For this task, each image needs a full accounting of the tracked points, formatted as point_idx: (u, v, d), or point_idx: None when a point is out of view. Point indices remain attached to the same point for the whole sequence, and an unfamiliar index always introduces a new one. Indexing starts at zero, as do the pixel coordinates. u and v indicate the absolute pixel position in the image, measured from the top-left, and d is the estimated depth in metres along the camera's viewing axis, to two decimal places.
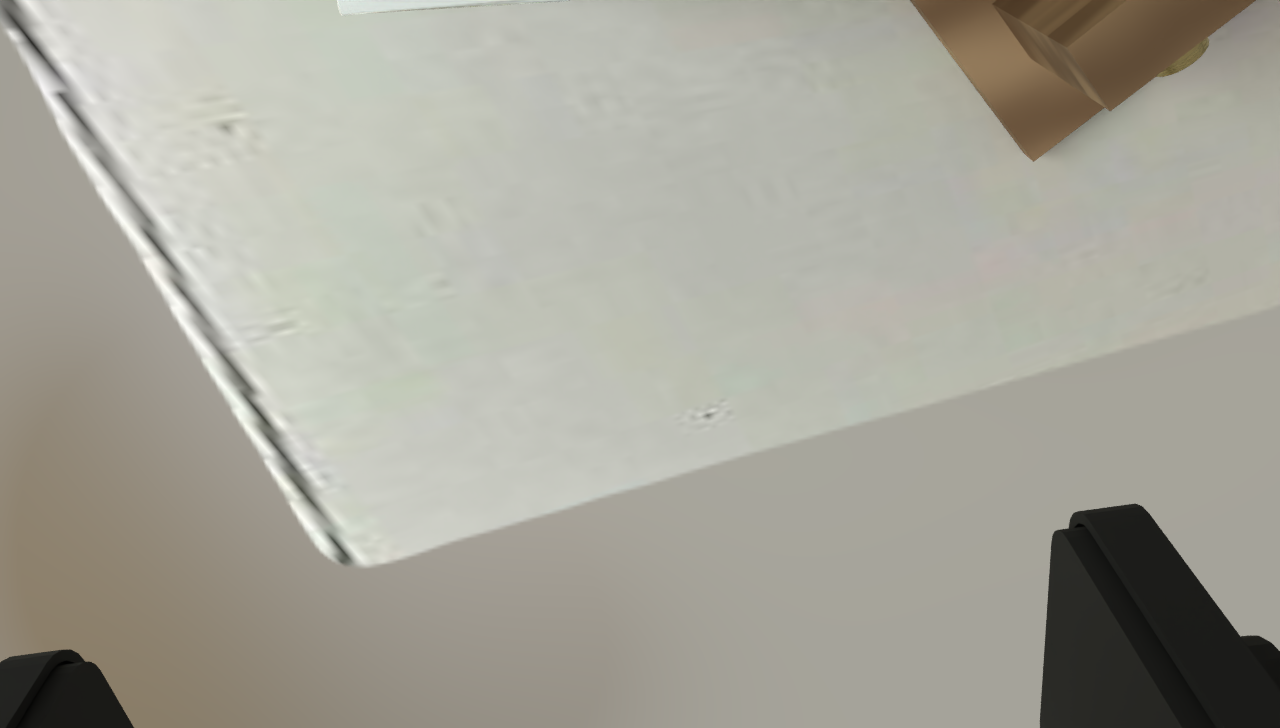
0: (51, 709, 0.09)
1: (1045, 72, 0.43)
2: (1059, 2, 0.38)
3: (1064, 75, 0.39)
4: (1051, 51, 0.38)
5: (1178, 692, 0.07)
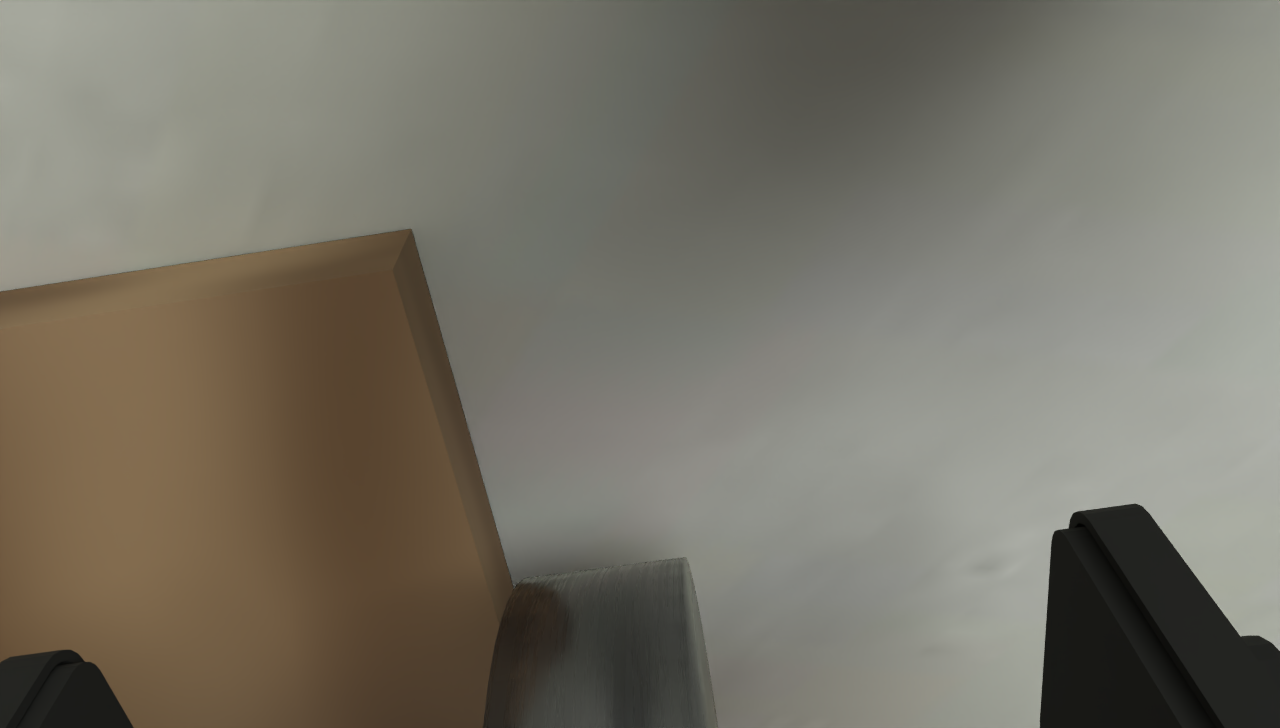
0: (51, 710, 0.09)
1: None
2: None
3: None
4: None
5: (1178, 692, 0.07)
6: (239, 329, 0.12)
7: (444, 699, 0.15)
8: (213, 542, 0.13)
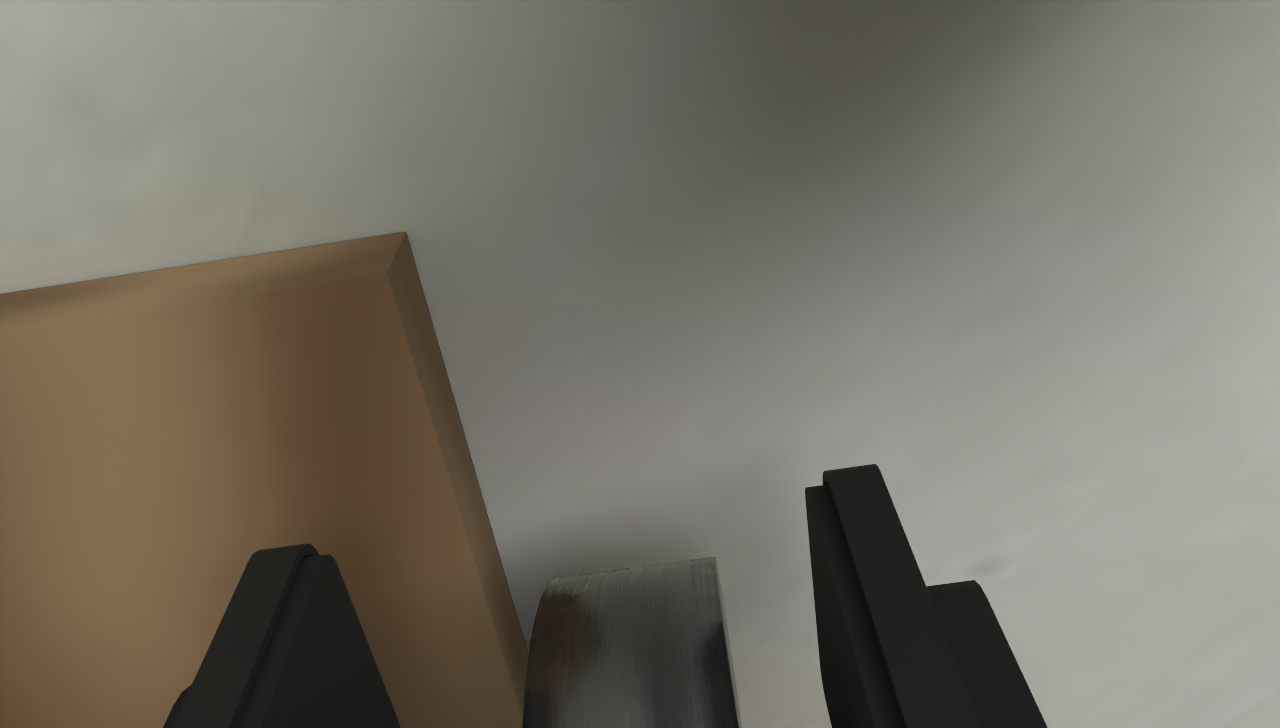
0: (311, 592, 0.10)
1: None
2: None
3: None
4: None
5: (859, 620, 0.08)
6: (233, 333, 0.12)
7: (440, 703, 0.15)
8: (207, 546, 0.13)
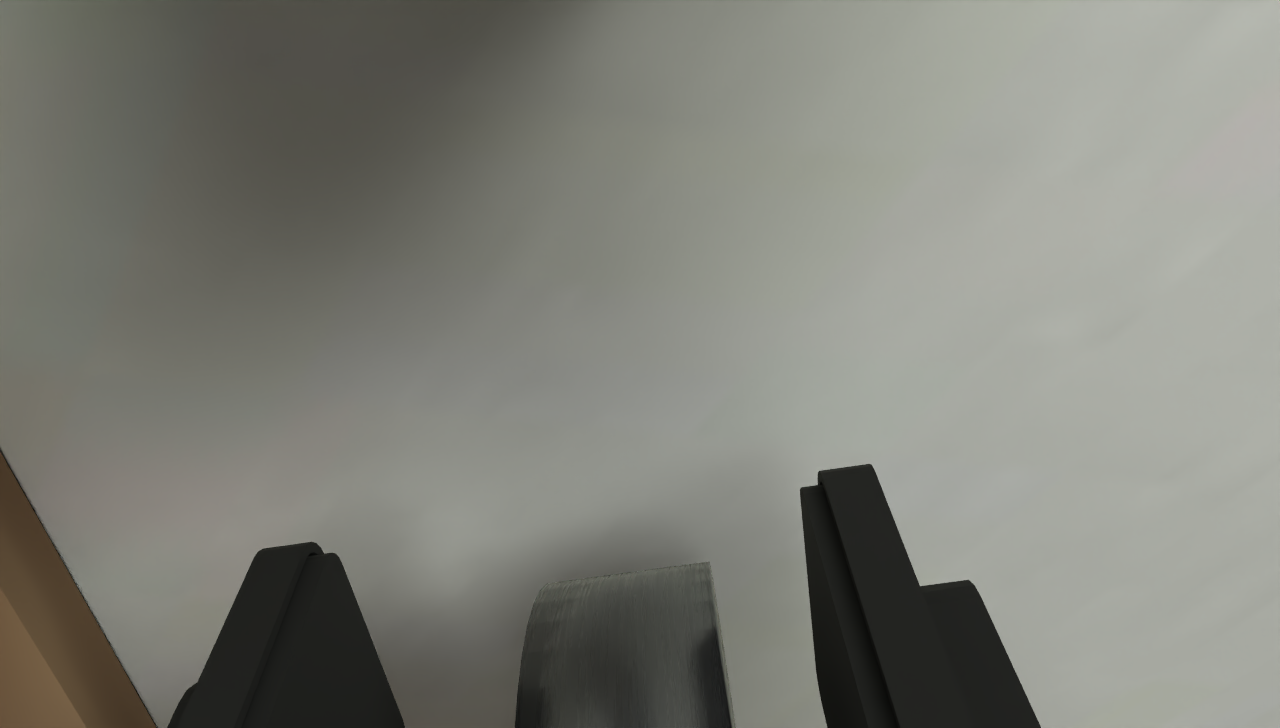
0: (315, 591, 0.10)
1: None
2: None
3: None
4: None
5: (853, 620, 0.08)
6: None
7: None
8: None
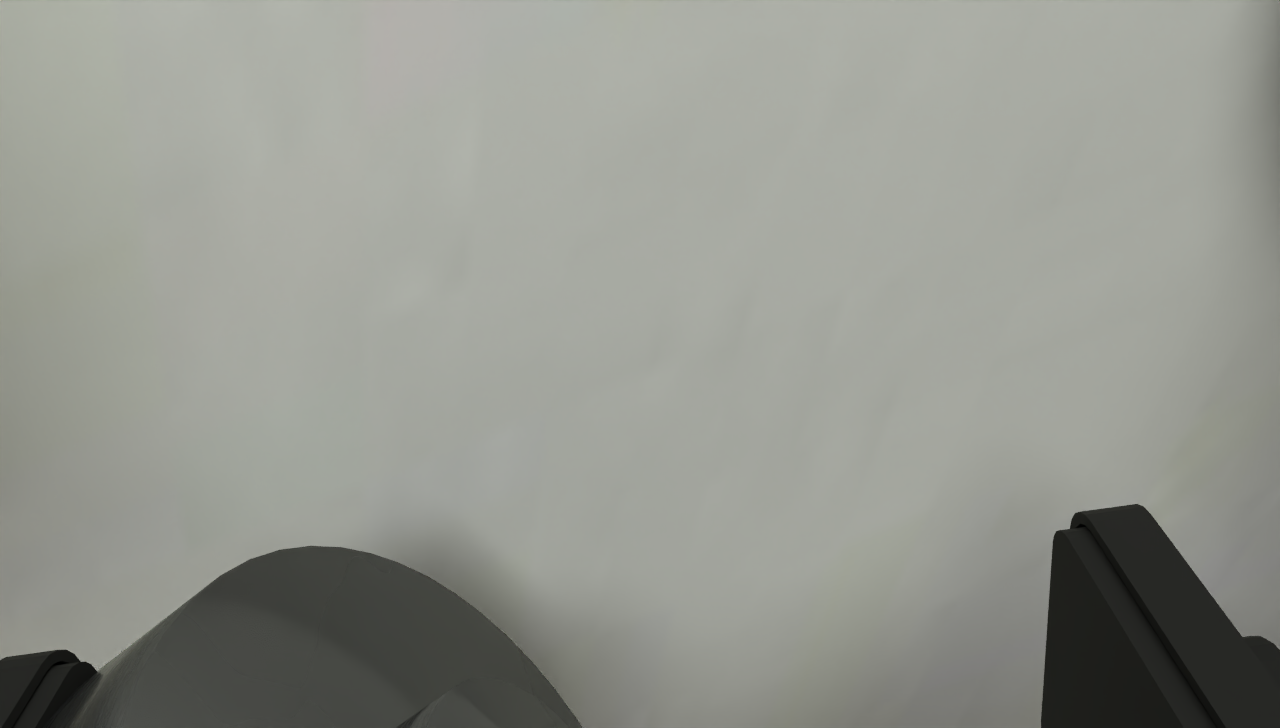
0: (46, 709, 0.09)
1: None
2: None
3: None
4: None
5: (1180, 693, 0.07)
6: None
7: None
8: None
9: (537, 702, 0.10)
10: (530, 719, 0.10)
